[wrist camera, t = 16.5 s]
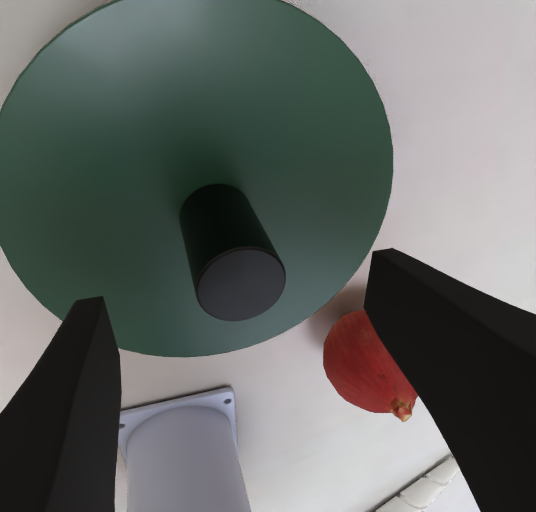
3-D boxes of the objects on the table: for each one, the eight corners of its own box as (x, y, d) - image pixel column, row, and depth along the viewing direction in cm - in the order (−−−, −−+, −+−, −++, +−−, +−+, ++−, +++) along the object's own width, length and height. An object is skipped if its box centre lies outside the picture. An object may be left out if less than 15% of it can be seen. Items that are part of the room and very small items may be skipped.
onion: (388, 273, 27) (470, 366, 21) (382, 336, 30) (450, 432, 24) (303, 295, 26) (362, 400, 20) (306, 357, 29) (357, 464, 23)
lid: (357, 309, 21) (414, 392, 17) (62, 367, 18) (44, 487, 14) (410, -19, 14) (539, -14, 9) (-92, -17, 10) (-239, -9, 6)
